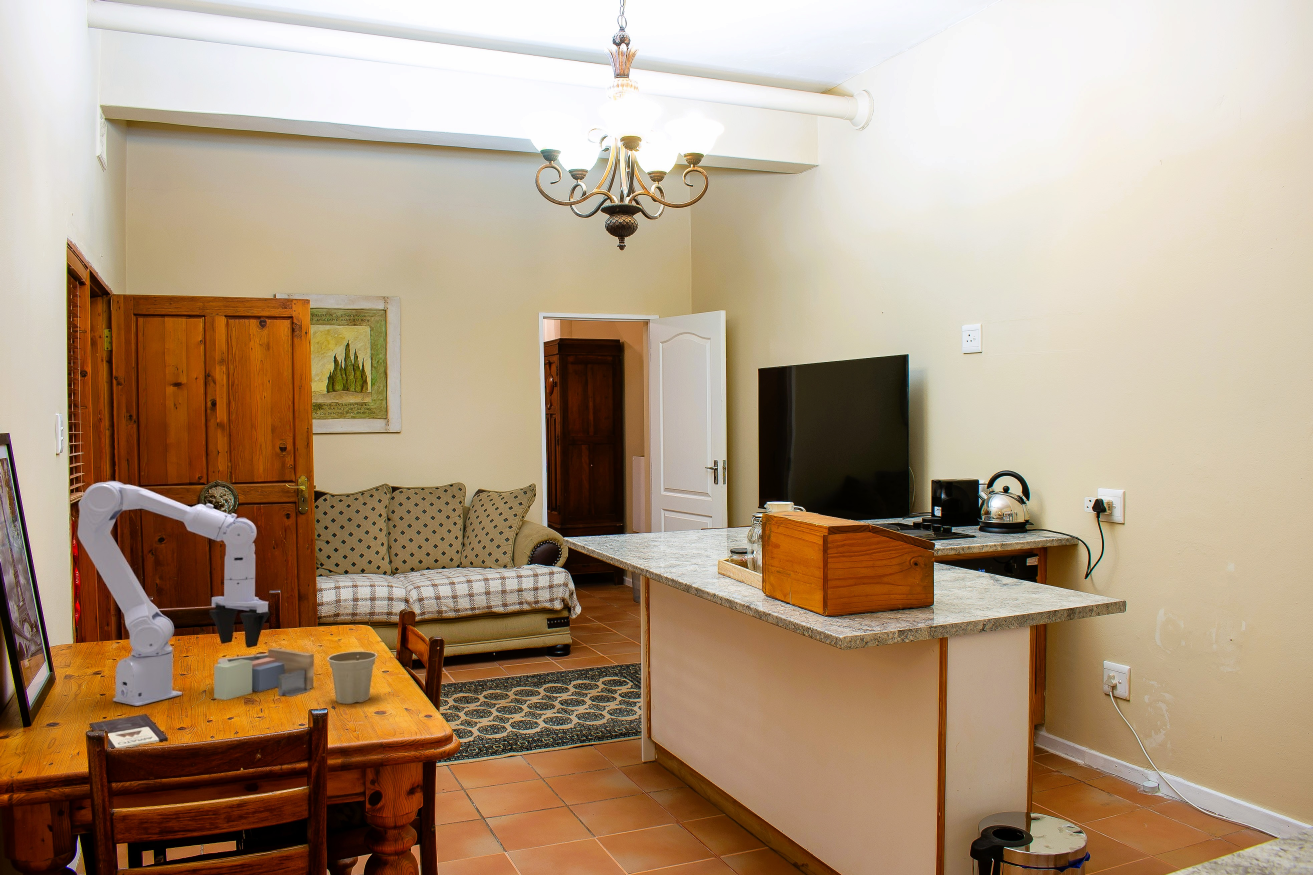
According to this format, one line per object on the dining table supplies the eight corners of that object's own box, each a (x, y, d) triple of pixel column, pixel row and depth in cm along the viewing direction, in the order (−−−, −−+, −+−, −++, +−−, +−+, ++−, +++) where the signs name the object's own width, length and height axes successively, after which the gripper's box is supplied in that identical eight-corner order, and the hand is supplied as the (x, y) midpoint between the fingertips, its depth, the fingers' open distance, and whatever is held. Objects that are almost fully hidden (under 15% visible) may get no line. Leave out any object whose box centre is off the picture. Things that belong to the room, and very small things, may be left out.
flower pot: (323, 707, 174) (323, 662, 174) (330, 694, 183) (331, 651, 183) (374, 705, 176) (374, 660, 176) (379, 692, 185) (379, 650, 185)
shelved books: (259, 691, 185) (259, 666, 185) (243, 688, 188) (243, 663, 188) (284, 684, 191) (284, 660, 191) (267, 681, 193) (268, 657, 193)
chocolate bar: (146, 713, 168) (167, 737, 154) (146, 718, 168) (167, 743, 154) (89, 723, 162) (106, 748, 148) (89, 728, 162) (106, 754, 148)
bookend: (288, 697, 181) (288, 676, 181) (278, 695, 183) (278, 675, 183) (312, 690, 187) (312, 670, 187) (302, 688, 188) (302, 668, 188)
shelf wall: (307, 689, 187) (307, 655, 187) (267, 681, 193) (268, 648, 193) (313, 687, 189) (313, 653, 189) (273, 680, 194) (274, 647, 194)
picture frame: (310, 678, 199) (290, 659, 216) (310, 665, 199) (290, 647, 216) (231, 688, 190) (217, 668, 208) (231, 674, 190) (218, 655, 208)
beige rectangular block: (225, 700, 179) (226, 667, 179) (214, 697, 181) (214, 665, 181) (251, 692, 184) (252, 660, 185) (240, 690, 186) (240, 658, 186)
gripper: (280, 578, 186) (279, 644, 186) (232, 573, 193) (232, 637, 193) (251, 582, 180) (250, 651, 180) (202, 577, 187) (202, 643, 186)
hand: (238, 644), depth 186 cm, fingers open, 7 cm apart
